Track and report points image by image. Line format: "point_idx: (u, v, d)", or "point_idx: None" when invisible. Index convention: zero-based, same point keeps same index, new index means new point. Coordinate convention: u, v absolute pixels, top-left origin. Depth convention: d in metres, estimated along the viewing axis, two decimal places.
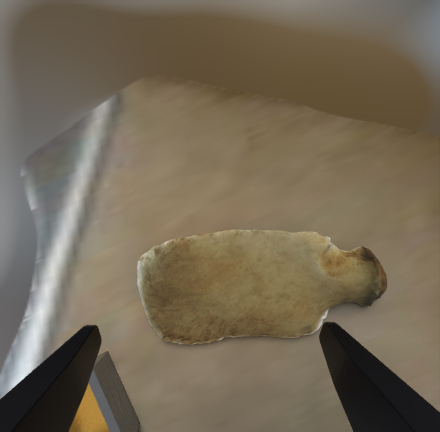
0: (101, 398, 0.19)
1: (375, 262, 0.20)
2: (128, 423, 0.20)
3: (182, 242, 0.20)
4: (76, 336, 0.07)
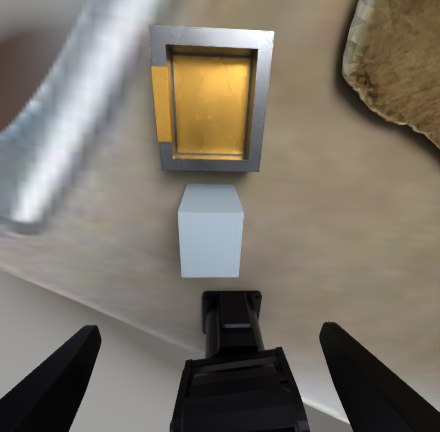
0: (262, 87, 0.13)
1: None
2: None
3: None
4: (76, 336, 0.07)
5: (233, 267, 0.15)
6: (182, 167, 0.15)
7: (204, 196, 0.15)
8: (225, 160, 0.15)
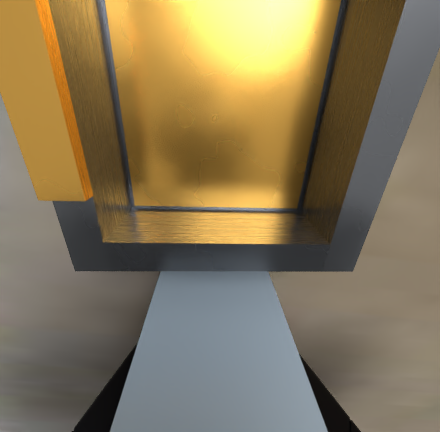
0: (435, 1, 0.03)
1: None
2: None
3: None
4: None
5: None
6: (135, 264, 0.05)
7: (198, 333, 0.06)
8: (262, 245, 0.05)
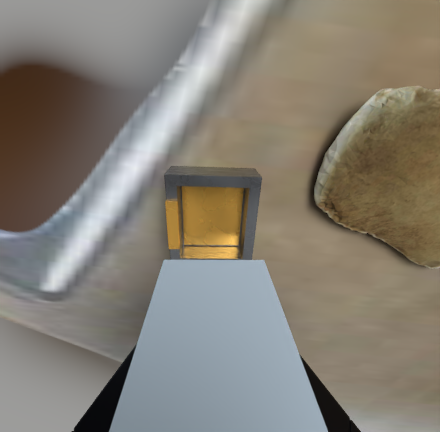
0: (253, 211, 0.16)
1: None
2: None
3: None
4: None
5: None
6: None
7: (198, 334, 0.06)
8: (223, 258, 0.18)
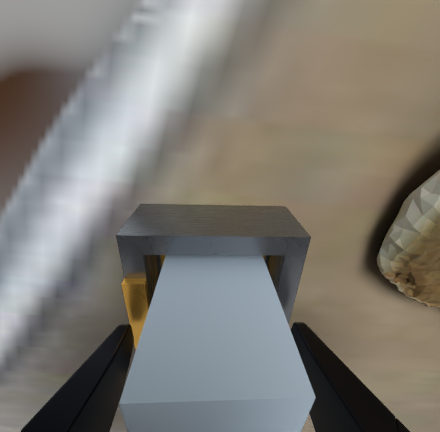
0: (288, 293, 0.09)
1: None
2: None
3: None
4: (113, 336, 0.07)
5: None
6: None
7: (201, 294, 0.07)
8: None
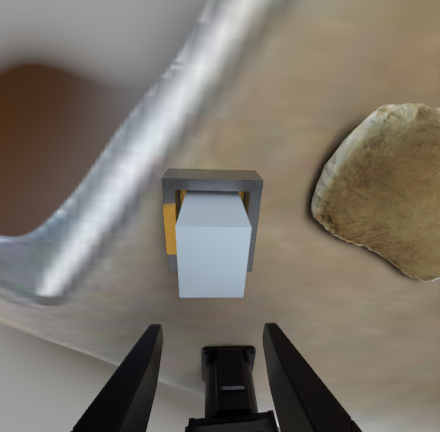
0: (254, 216, 0.15)
1: None
2: None
3: None
4: (146, 335, 0.07)
5: (238, 286, 0.13)
6: None
7: (205, 206, 0.14)
8: None
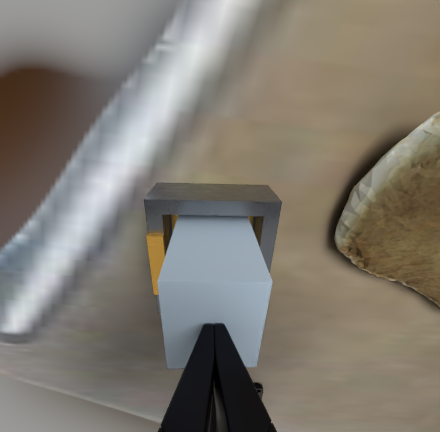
0: (268, 247, 0.12)
1: None
2: None
3: None
4: (204, 334, 0.08)
5: (250, 355, 0.09)
6: None
7: (203, 238, 0.10)
8: None
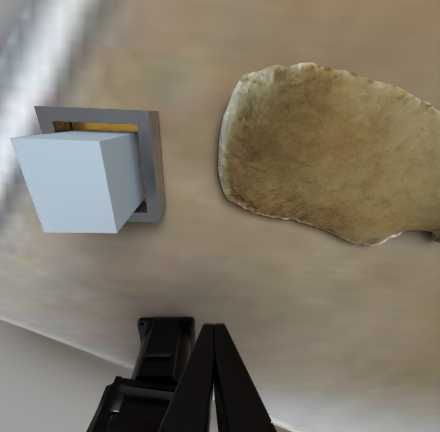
0: (147, 154, 0.14)
1: None
2: (161, 199, 0.17)
3: (327, 75, 0.12)
4: (203, 334, 0.08)
5: (107, 219, 0.12)
6: None
7: (78, 134, 0.12)
8: None
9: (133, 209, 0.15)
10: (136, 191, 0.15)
